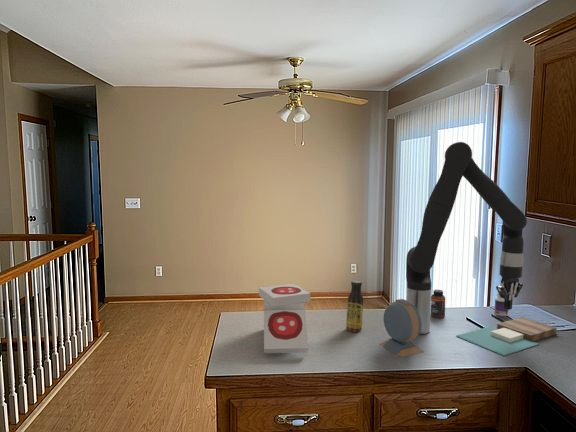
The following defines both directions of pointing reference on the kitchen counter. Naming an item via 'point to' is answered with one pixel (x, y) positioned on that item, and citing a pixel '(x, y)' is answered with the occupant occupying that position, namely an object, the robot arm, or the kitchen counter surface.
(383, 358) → the kitchen counter surface
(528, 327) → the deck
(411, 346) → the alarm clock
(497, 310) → the pill bottle
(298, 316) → the pizza boxes
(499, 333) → the tile
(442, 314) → the supplement bottle
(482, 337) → the mat
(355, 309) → the sauce bottle
